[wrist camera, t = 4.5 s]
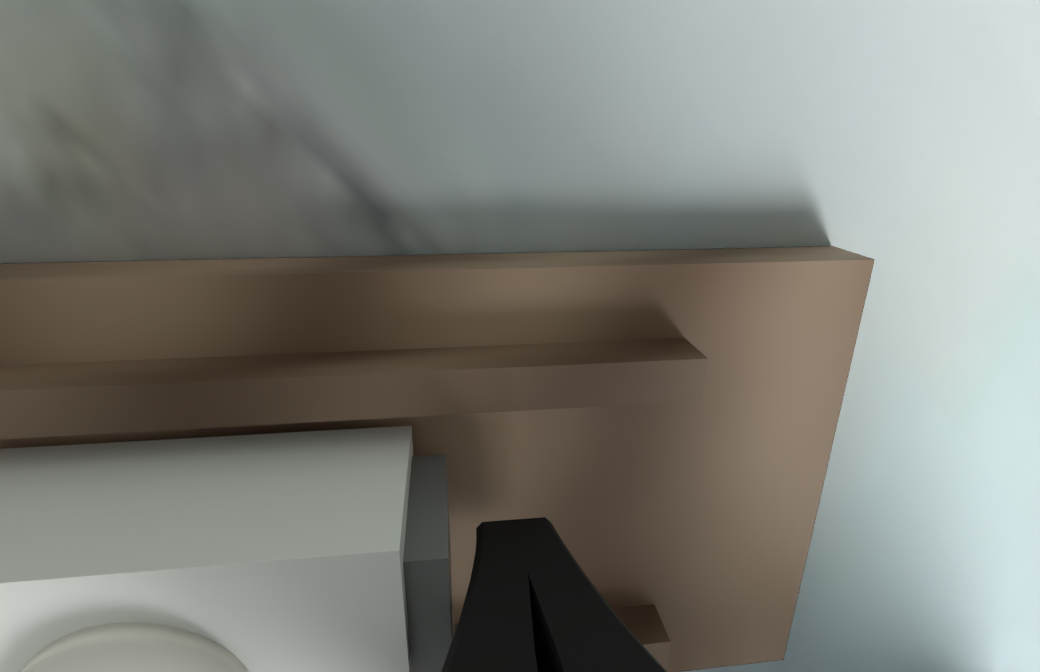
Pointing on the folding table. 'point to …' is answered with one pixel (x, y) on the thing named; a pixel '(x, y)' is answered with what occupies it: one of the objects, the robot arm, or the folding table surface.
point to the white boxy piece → (226, 555)
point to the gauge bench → (496, 398)
